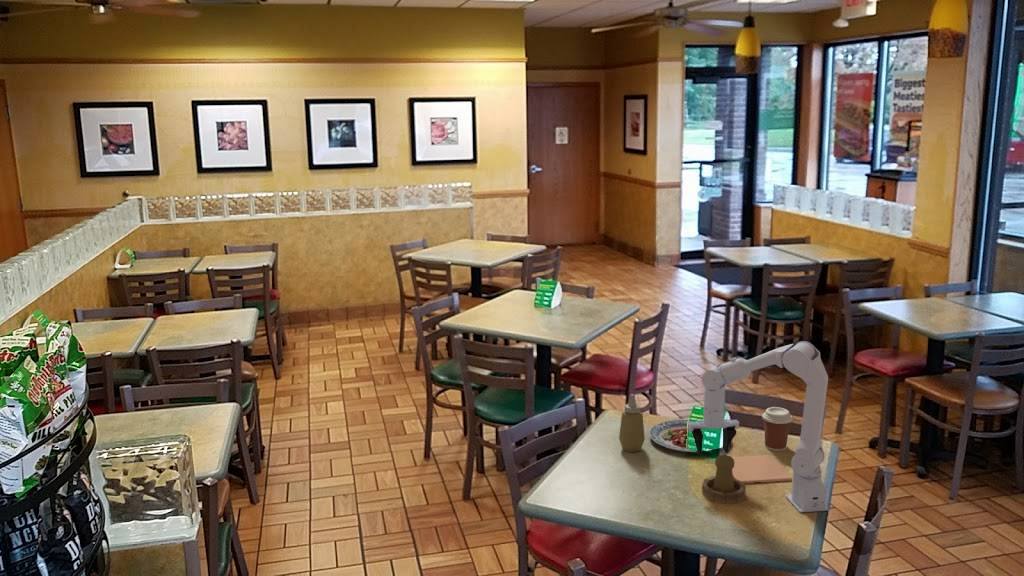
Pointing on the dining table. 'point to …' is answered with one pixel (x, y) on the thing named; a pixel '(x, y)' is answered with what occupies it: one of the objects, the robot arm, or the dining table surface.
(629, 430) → the squeeze bottle
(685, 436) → the ceramic plate
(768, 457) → the coaster
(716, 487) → the cork
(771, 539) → the dining table surface
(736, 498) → the holder ring
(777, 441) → the coffee cup
